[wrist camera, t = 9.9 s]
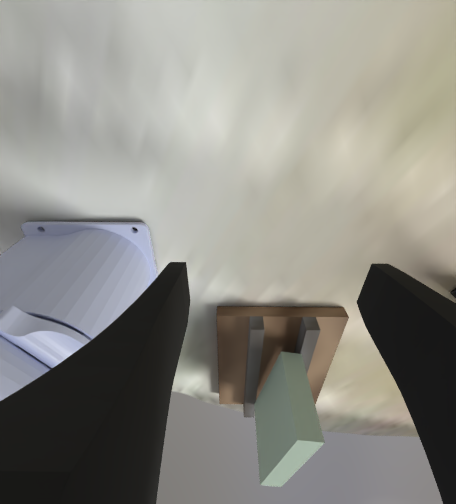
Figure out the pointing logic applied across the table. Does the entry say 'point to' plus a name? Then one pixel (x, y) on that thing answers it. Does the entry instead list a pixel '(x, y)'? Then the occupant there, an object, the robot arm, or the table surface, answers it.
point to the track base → (273, 347)
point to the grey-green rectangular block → (286, 421)
